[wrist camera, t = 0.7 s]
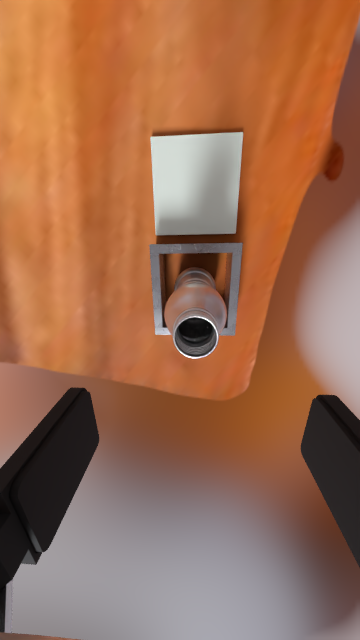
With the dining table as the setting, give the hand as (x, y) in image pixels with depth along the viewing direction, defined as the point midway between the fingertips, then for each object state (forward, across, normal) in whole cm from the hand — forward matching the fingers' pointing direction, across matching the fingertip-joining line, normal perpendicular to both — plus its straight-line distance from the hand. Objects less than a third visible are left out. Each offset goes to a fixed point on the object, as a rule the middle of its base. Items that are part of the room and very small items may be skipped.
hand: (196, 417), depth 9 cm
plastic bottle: (+28, 0, 0) cm, 28 cm away
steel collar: (+28, 0, 0) cm, 28 cm away
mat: (+28, 0, -14) cm, 31 cm away
